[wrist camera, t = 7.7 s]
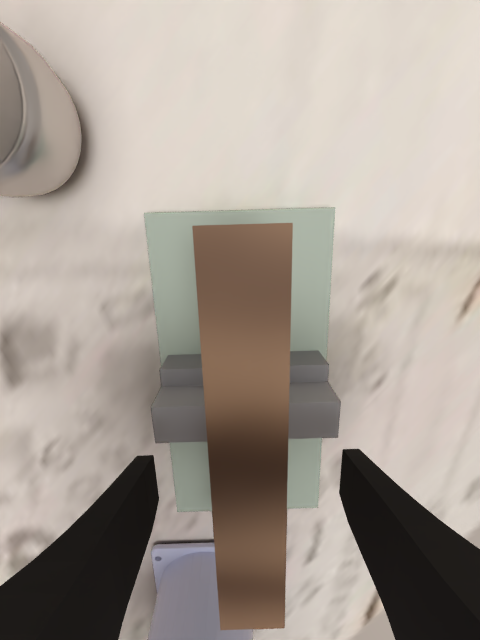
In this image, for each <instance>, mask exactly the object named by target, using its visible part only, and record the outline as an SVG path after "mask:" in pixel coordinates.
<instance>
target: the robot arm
mask: <svg viewBox="0 0 480 640" xmlns="http://www.w3.org/2000/svg"><path fill="white" fill-rule="evenodd" d="M339 494H340V497H341V500H342V504H343V507H344V510H345V513H346V517H347V520H348V523H349V525H350V528H351V530H352V533H353V535H354V537H355V540H356V542H357V544H358V547H359V549H360V551H361V554H362V556H363V558H364V561H365V563H366V566H367V568H368V570H369V573H370V575H371V577H372V580H373V582H374V584H375V587H376V589H377V591H378V594H379V596H380V598H381V601H382V604H383V606H384V609H385V611H386V614H387V616H388V619H389V622H390V625H391V628H392V631H393V634H394V637H395V639H396V640H480V549H479V548H477V547H475V546H474V545H473V544H472V543H470V542H469V541H467V540H466V539H465V538H463V537H462V536H460V535H459V534H458V533H456V532H455V531H454V530H452V529H451V528H450V527H448V526H447V525H446V524H444V523H443V522H442V521H440V520H439V519H438V518H437V517H435V516H434V515H433V514H432V513H430V512H429V511H428V510H427V509H425V508H424V507H423V506H422V505H421V504H419V503H418V502H417V501H416V500H415V499H413V498H412V497H411V496H410V495H409V494H408V493H406V492H405V491H404V490H403V489H402V488H401V487H400V486H398V485H397V484H396V483H395V482H394V481H393V480H392V479H391V478H390V477H389V476H387V475H386V474H385V473H384V472H383V471H382V470H381V469H380V468H379V467H378V466H377V465H376V464H375V463H373V462H372V461H371V460H370V459H369V458H368V457H367V456H366V455H365V454H364V453H363V452H362V451H361V450H359V449H343V453H342V465H341V478H340V490H339ZM158 501H159V495H158V487H157V480H156V472H155V464H154V457H153V455H149V456H137V457H136V458H135V459H134V460H133V461H132V462H131V463H130V464H129V465H128V466H127V468H126V469H125V470H124V471H123V472H122V473H121V474H120V475H119V477H118V478H117V479H116V480H115V481H114V482H113V483H112V484H111V485H110V487H109V488H108V489H107V490H106V491H105V492H104V493H103V494H102V495H101V496H100V497H99V498H98V499H97V500H96V502H95V503H94V504H93V505H92V506H91V507H90V508H89V509H88V510H87V511H86V512H85V513H84V514H83V515H82V516H81V517H80V518H79V519H78V520H77V521H76V522H75V523H74V524H73V525H72V526H71V527H70V528H69V529H68V530H66V531H65V532H64V533H63V534H62V535H61V536H60V537H59V538H58V539H57V540H56V541H55V542H53V543H52V544H51V545H50V546H49V547H48V548H47V549H45V550H44V551H43V552H42V553H41V554H40V555H39V556H37V557H36V558H35V559H34V560H33V561H31V562H30V563H29V564H28V565H26V566H25V567H24V568H23V569H21V570H20V571H19V572H18V573H16V574H15V575H14V576H13V577H11V578H10V579H9V580H7V581H6V582H5V583H4V584H2V585H1V586H0V640H118V638H119V634H120V630H121V626H122V622H123V619H124V616H125V612H126V609H127V605H128V602H129V599H130V596H131V593H132V590H133V587H134V584H135V581H136V578H137V575H138V572H139V569H140V566H141V563H142V560H143V557H144V554H145V551H146V547H147V544H148V541H149V538H150V535H151V532H152V529H153V524H154V520H155V515H156V510H157V506H158ZM151 556H152V563H153V569H154V576H155V583H156V589H157V599H156V604H155V608H154V613H153V617H152V621H151V626H150V630H149V635H148V639H147V640H253V629H242V630H220V618H219V603H218V589H217V574H216V560H215V546H214V543H182V544H157V545H154V546H153V547H152V551H151Z"/></svg>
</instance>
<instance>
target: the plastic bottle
mask: <svg viewBox="0 0 480 640" xmlns="http://www.w3.org/2000/svg"><path fill="white" fill-rule="evenodd" d="M81 140H82V135H81V127H80V121H79V117H78V114H77V111H76V107H75V105H74V103H73V101H72V99H71V97H70V95H69V93H68V91H67V90H66V88H65V87H64V85H63V84H62V82H61V81H60V79H59V78H58V77H57V75H56V74H55V73H54V71H53V70H52V69H51V67H50V66H49V65H48V63H47V62H46V61H45V59H44V58H43V57H42V56H41V55H40V54H39V53H38V52H37V51H36V50H35V49H34V47H33V46H32V45H31V44H29V43H28V42H27V41H25V40H24V39H23V38H22V37H20V36H19V35H18V34H16V33H15V32H14V31H12V30H11V29H10V28H8V27H7V26H5V25H4V24H2V23H1V22H0V196H6V197H25V196H37V195H43V194H47V193H49V192H52V191H54V190H56V189H58V188H59V187H60V186H62V185H63V184H64V183H65V182H66V181H67V180H68V179H69V178H70V176H71V175H72V174H73V172H74V170H75V168H76V166H77V164H78V160H79V156H80V152H81Z"/></svg>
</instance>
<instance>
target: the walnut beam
mask: <svg viewBox="0 0 480 640" xmlns="http://www.w3.org/2000/svg"><path fill="white" fill-rule="evenodd" d="M192 229H193V244H194V258H195V272H196V287H197V301H198V316H199V330H200V344H201V359H202V373H203V388H204V402H205V416H206V431H207V445H208V459H209V474H210V488H211V503H212V517H213V531H214V546H215V560H216V574H217V589H218V603H219V618H220V630H242V629H274V628H284V627H285V579H286V530H287V482H288V433H289V385H290V336H291V288H292V239H293V223H266V224H232V225H198V226H192Z"/></svg>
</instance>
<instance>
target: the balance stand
mask: <svg viewBox="0 0 480 640" xmlns="http://www.w3.org/2000/svg"><path fill="white" fill-rule="evenodd" d="M144 218H145V227H146V236H147V245H148V254H149V263H150V272H151V281H152V290H153V298H154V307H155V316H156V325H157V334H158V343H159V352H160V361H161V368H160V378H161V388H160V390H159V392H158V394H157V396H156V398H155V400H154V402H153V404H152V406H151V413H152V421H153V429H154V437H155V443H170V451H171V460H172V469H173V478H174V486H175V495H176V504H177V512H196V511H212V503H211V488H210V474H209V459H208V445H207V431H206V416H205V402H204V388H203V373H202V359H201V344H200V330H199V316H198V301H197V287H196V272H195V258H194V244H193V229H192V226H198V225H232V224H266V223H293V239H292V288H291V336H290V385H289V433H288V482H287V509H292V508H318V498H319V480H320V463H321V446H322V438H338V431H339V418H340V405H341V401H340V400H339V398H338V397H337V395H336V393H335V392H334V390H333V389H332V387H331V386H330V384H329V382H328V372H329V364H328V363H327V361H326V359H327V341H328V324H329V307H330V289H331V272H332V255H333V237H334V220H335V207H331V208H297V209H262V210H228V211H193V212H159V213H144Z"/></svg>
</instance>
